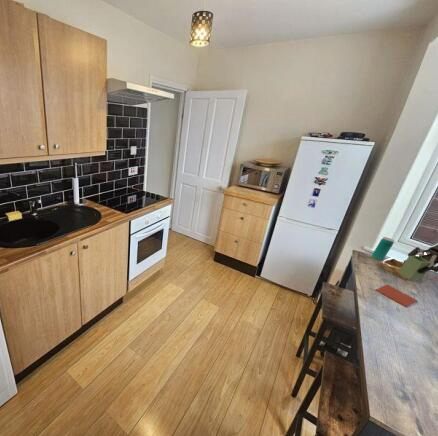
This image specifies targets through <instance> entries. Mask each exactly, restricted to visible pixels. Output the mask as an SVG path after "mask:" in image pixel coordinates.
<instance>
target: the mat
mask: <svg viewBox="0 0 438 436" xmlns="http://www.w3.org/2000/svg"><path fill="white" fill-rule="evenodd" d="M375 291H376V292H378V293H379V294H382V295H383V296H384V297H387V298H389V299H390V300H392V301H394V302H396V303H398V304H399V305H401V306H403V307H404V308H406V307H408V306H410V305H412V304H414V303H416V302H417V301H418V299H417V298H414V297H412V296H411V295H409V294H407V293H404V292H402V291H400V290H399V289H397V288H395V287H393V286H391V285H389V284H385V285H383V286H381V287H379V288H375Z"/></svg>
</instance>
